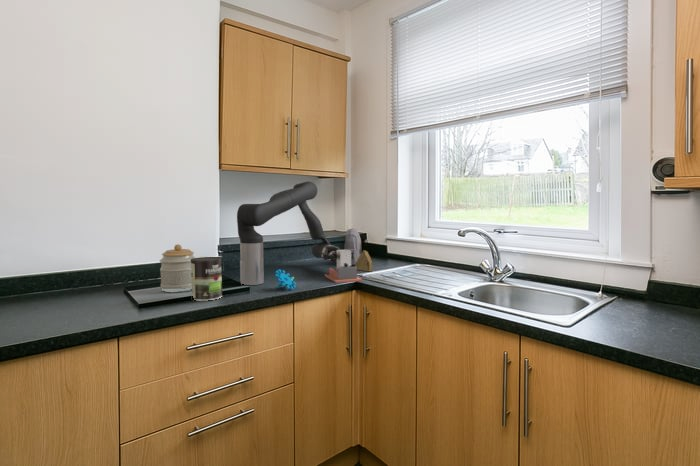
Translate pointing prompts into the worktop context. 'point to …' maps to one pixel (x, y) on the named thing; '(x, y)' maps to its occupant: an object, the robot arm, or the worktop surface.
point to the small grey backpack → (353, 244)
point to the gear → (285, 280)
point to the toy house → (364, 262)
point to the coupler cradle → (343, 275)
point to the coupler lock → (343, 258)
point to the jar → (176, 268)
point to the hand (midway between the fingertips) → (342, 257)
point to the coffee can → (206, 278)
